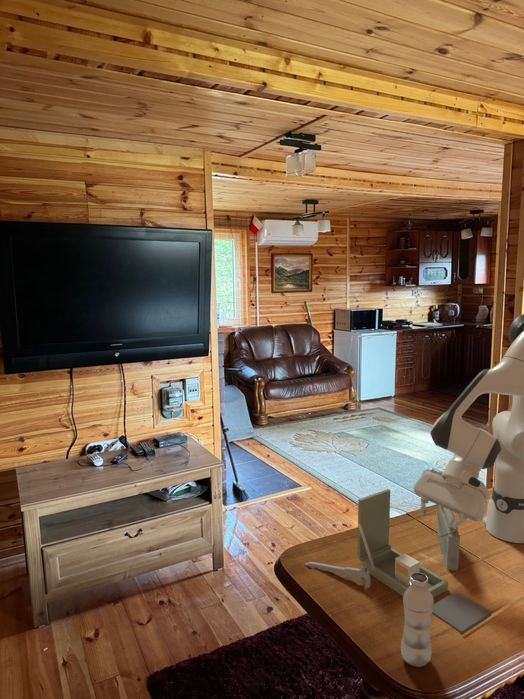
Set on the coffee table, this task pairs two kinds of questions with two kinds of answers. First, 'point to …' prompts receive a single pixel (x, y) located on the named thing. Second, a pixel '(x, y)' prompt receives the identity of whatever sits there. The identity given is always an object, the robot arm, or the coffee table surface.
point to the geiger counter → (448, 538)
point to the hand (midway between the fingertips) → (436, 520)
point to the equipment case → (384, 545)
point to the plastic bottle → (417, 621)
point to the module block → (405, 568)
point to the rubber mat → (460, 612)
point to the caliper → (345, 572)
